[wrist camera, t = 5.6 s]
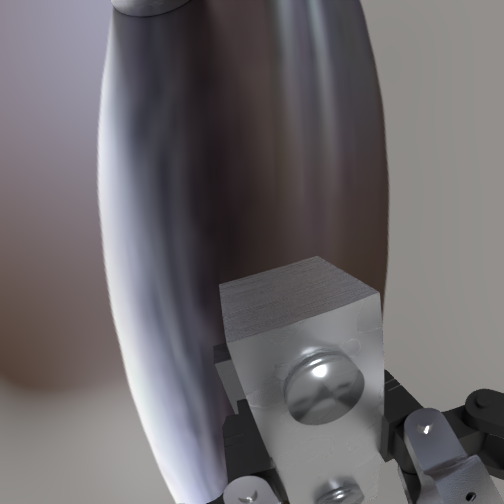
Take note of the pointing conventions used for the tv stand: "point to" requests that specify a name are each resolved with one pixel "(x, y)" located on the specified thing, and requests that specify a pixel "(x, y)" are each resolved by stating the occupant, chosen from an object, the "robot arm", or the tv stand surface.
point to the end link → (228, 375)
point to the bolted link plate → (311, 376)
